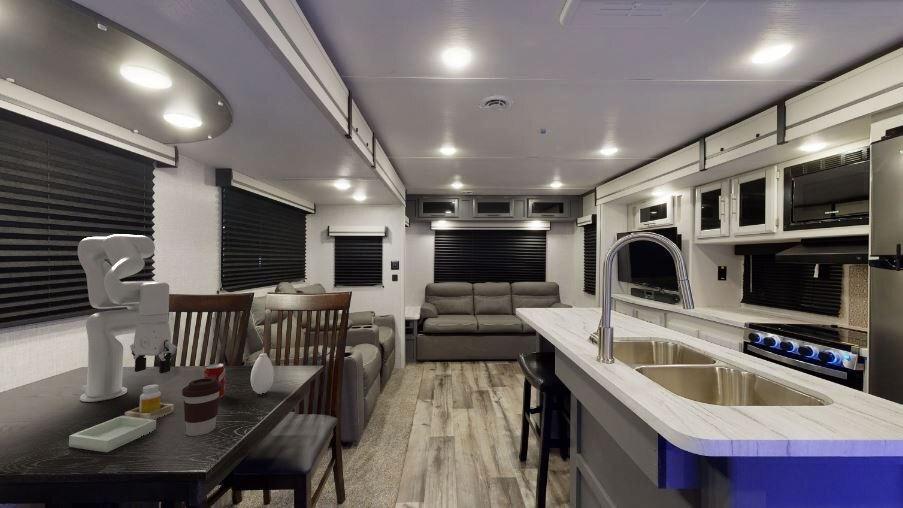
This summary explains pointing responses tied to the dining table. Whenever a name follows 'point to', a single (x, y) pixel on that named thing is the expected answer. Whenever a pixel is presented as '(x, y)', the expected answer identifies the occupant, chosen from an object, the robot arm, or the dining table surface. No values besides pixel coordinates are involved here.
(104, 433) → the tray
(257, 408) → the dining table surface
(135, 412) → the socket collar
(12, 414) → the dining table surface
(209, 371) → the soda can
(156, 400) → the supplement bottle
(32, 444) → the dining table surface
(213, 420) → the coffee cup
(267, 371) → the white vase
